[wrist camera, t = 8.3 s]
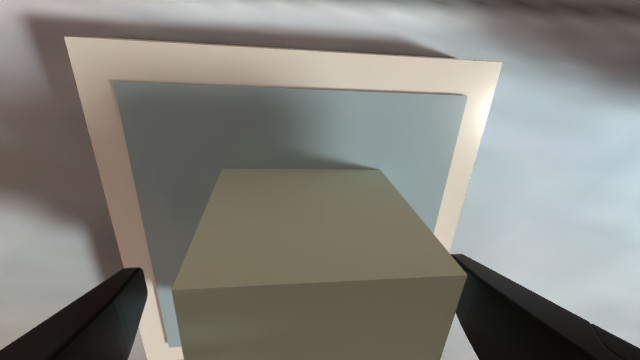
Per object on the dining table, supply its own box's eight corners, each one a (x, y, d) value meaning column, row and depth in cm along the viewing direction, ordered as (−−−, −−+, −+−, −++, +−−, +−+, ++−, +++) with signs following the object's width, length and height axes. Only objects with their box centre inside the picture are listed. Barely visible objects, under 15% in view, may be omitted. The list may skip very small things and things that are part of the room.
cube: (380, 169, 10) (467, 275, 5) (362, 287, 12) (415, 435, 7) (221, 168, 9) (170, 290, 5) (231, 294, 11) (202, 462, 7)
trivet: (457, 58, 12) (506, 62, 9) (404, 297, 16) (426, 342, 14) (112, 37, 10) (58, 36, 7) (167, 312, 15) (146, 366, 12)
